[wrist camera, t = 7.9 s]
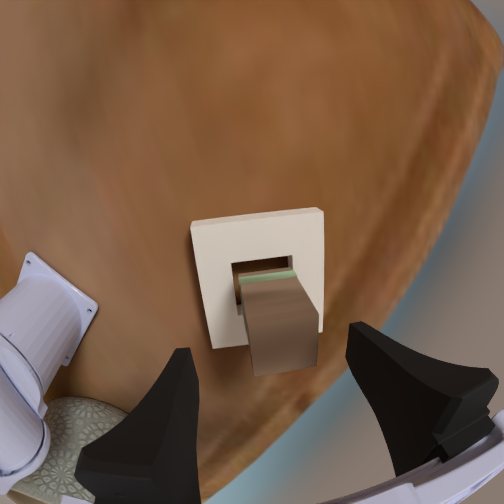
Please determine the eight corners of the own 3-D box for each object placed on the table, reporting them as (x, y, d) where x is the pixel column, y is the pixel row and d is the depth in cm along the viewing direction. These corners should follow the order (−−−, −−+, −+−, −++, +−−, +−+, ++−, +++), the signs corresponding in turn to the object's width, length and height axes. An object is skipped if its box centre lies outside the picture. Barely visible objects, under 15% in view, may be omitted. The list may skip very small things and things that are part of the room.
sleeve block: (316, 321, 24) (323, 333, 23) (212, 337, 24) (212, 350, 22) (315, 207, 21) (324, 212, 19) (192, 221, 20) (190, 227, 19)
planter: (34, 355, 23) (-25, 462, 8) (180, 403, 26) (175, 538, 12) (53, 434, 28) (27, 515, 13) (162, 467, 31) (159, 557, 17)
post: (292, 311, 21) (317, 366, 15) (243, 319, 20) (253, 377, 15) (291, 266, 19) (320, 313, 14) (237, 273, 19) (246, 324, 13)
